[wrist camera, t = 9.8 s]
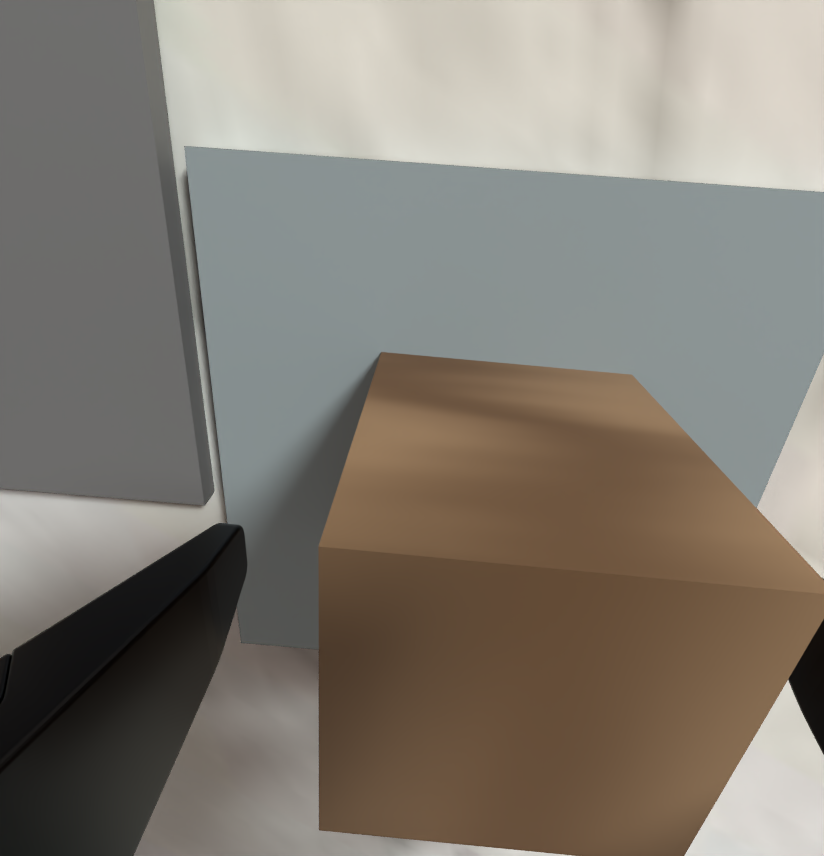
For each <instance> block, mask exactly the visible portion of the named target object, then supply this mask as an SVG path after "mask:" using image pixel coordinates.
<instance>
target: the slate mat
mask: <svg viewBox="0 0 824 856" xmlns="http://www.w3.org/2000/svg"><path fill="white" fill-rule="evenodd" d="M184 148H185V157H186V166H187V174H188V183H189V192H190V201H191V209H192V218H193V227H194V236H195V244H196V253H197V262H198V270H199V279H200V288H201V297H202V305H203V314H204V323H205V332H206V340H207V349H208V358H209V366H210V375H211V384H212V393H213V401H214V410H215V419H216V428H217V436H218V445H219V454H220V462H221V471H222V480H223V489H224V497H225V506H226V515H227V524H238V525H240V526H242V527H243V529H244V533H245V543H246V553H247V573H246V578H245V581H244V584H243V587H242V591H241V594H240V597H239V600H238V603H237V611H238V620H239V628H240V637H241V643H249V644H260V645H272V646H283V647H295V648H307V649H318V650H319V569H318V546H319V543H320V540H321V537H322V534H323V531H324V528H325V525H326V521H327V518H328V515H329V512H330V509H331V506H332V503H333V500H334V497H335V494H336V491H337V487H338V484H339V481H340V478H341V475H342V472H343V469H344V466H345V463H346V460H347V456H348V453H349V450H350V447H351V444H352V441H353V438H354V435H355V432H356V429H357V426H358V422H359V419H360V416H361V413H362V410H363V407H364V404H365V401H366V398H367V395H368V391H369V388H370V385H371V382H372V379H373V376H374V373H375V370H376V367H377V364H378V361H379V357H380V354H381V352H388V353H399V354H410V355H421V356H432V357H443V358H454V359H465V360H476V361H487V362H498V363H509V364H520V365H531V366H542V367H553V368H565V369H576V370H587V371H598V372H609V373H620V374H631V375H633V376H634V377H635V378H636V379H637V381H638V382H639V383H640V384H641V385H642V386H643V387H644V388H645V389H646V390H647V391H648V392H649V393H650V395H651V396H652V397H653V398H654V399H655V400H656V401H657V402H658V403H659V404H660V405H661V406H662V407H663V408H664V410H665V411H666V412H667V413H668V414H669V415H670V416H671V417H672V418H673V419H674V420H675V421H676V422H677V423H678V425H679V426H680V427H681V428H682V429H683V430H684V431H685V432H686V433H687V434H688V435H689V436H690V437H691V438H692V440H693V441H694V442H695V443H696V444H697V445H698V446H699V447H700V448H701V449H702V450H703V451H704V452H705V453H706V455H707V456H708V457H709V458H710V459H711V460H712V461H713V462H714V463H715V464H716V465H717V466H718V467H719V468H720V470H721V471H722V472H723V473H724V474H725V475H726V476H727V477H728V478H729V479H730V480H731V481H732V482H733V484H734V485H735V486H736V487H737V488H738V489H739V490H740V491H741V492H742V493H743V494H744V495H745V496H746V497H747V499H748V500H749V501H750V502H751V503H752V504H753V505H754V506H755V507H756V508H757V506H758V504H759V501H760V499H761V497H762V494H763V492H764V490H765V487H766V485H767V483H768V481H769V478H770V476H771V474H772V471H773V469H774V467H775V464H776V462H777V460H778V458H779V455H780V453H781V451H782V448H783V446H784V444H785V441H786V439H787V437H788V435H789V432H790V430H791V428H792V425H793V423H794V421H795V418H796V416H797V414H798V412H799V409H800V407H801V405H802V402H803V400H804V398H805V396H806V393H807V391H808V389H809V386H810V384H811V382H812V379H813V377H814V375H815V373H816V370H817V368H818V366H819V363H820V361H821V359H822V356H823V354H824V192H814V191H801V190H787V189H773V188H759V187H745V186H731V185H717V184H704V183H690V182H676V181H662V180H648V179H634V178H620V177H606V176H593V175H579V174H565V173H551V172H537V171H523V170H509V169H496V168H482V167H468V166H454V165H440V164H426V163H412V162H399V161H385V160H371V159H357V158H343V157H329V156H315V155H302V154H288V153H274V152H260V151H246V150H232V149H218V148H205V147H191V146H184Z"/></svg>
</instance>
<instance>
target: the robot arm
mask: <svg viewBox="0 0 824 856" xmlns="http://www.w3.org/2000/svg"><path fill="white" fill-rule="evenodd" d="M246 573H247V553H246V543H245V533H244V529H243V527H242V526H240V525H238V524H226V523H218V524H216V525H214V526H212V527H210V528H209V529H207V530H206V531H204V532H202V533H201V534H199V535H198V536H196V537H194V538H193V539H191V540H189V541H188V542H186V543H185V544H183V545H181V546H180V547H178V548H177V549H175V550H173V551H172V552H170V553H169V554H167V555H165V556H164V557H162V558H161V559H159V560H157V561H156V562H154V563H153V564H151V565H149V566H148V567H146V568H144V569H143V570H141V571H140V572H138V573H136V574H135V575H133V576H132V577H130V578H128V579H127V580H125V581H124V582H122V583H120V584H119V585H117V586H116V587H114V588H112V589H111V590H109V591H108V592H106V593H104V594H103V595H101V596H99V597H98V598H96V599H95V600H93V601H91V602H90V603H88V604H87V605H85V606H83V607H82V608H80V609H79V610H77V611H75V612H74V613H72V614H71V615H69V616H67V617H66V618H64V619H63V620H61V621H59V622H58V623H56V624H54V625H53V626H51V627H50V628H48V629H46V630H45V631H43V632H42V633H40V634H38V635H37V636H35V637H34V638H32V639H30V640H29V641H27V642H26V643H24V644H22V645H21V646H19V647H17V648H16V649H14V650H13V652H12V655H10V654H6V655H4V656H3V657H1V658H0V856H134V853H135V851H136V849H137V847H138V844H139V842H140V840H141V838H142V835H143V833H144V831H145V828H146V826H147V824H148V822H149V819H150V817H151V815H152V813H153V810H154V808H155V806H156V804H157V801H158V799H159V797H160V794H161V792H162V790H163V788H164V785H165V783H166V781H167V779H168V776H169V774H170V772H171V770H172V767H173V765H174V763H175V761H176V758H177V756H178V754H179V751H180V749H181V747H182V745H183V742H184V740H185V738H186V736H187V733H188V731H189V729H190V727H191V724H192V722H193V720H194V717H195V715H196V713H197V711H198V708H199V706H200V704H201V702H202V699H203V697H204V695H205V693H206V690H207V688H208V686H209V684H210V681H211V679H212V677H213V674H214V672H215V670H216V667H217V665H218V662H219V660H220V657H221V654H222V651H223V648H224V645H225V641H226V638H227V635H228V632H229V629H230V626H231V622H232V619H233V616H234V613H235V610H236V606H237V603H238V600H239V597H240V594H241V591H242V587H243V584H244V581H245V578H246ZM822 579H823V578H822ZM823 580H824V579H823ZM788 680H789V683H790V685H791V688H792V690H793V693H794V695H795V697H796V700H797V702H798V704H799V707H800V709H801V711H802V713H803V715H804V717H805V719H806V721H807V723H808V725H809V727H810V729H811V731H812V733H813V735H814V737H815V739H816V741H817V743H818V745H819V747H820V749H821V751H822V753H823V754H824V619H823V621H822V623H821V624H820V626H819V628H818V629H817V631H816V633H815V635H814V636H813V638H812V640H811V641H810V643H809V645H808V646H807V648H806V650H805V651H804V653H803V655H802V657H801V658H800V660H799V662H798V663H797V665H796V667H795V668H794V670H793V672H792V674H791V675H790V677H789V679H788Z"/></svg>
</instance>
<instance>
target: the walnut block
mask: <svg viewBox="0 0 824 856" xmlns="http://www.w3.org/2000/svg"><path fill="white" fill-rule="evenodd" d="M318 569H319V830H322V831H332V832H342V833H352V834H362V835H372V836H383V837H393V838H403V839H413V840H423V841H433V842H443V843H453V844H464V845H474V846H484V847H494V848H504V849H514V850H524V851H534V852H545V853H555V854H565V855H575V856H684V855H685V853H686V852H687V850H688V848H689V847H690V845H691V843H692V841H693V840H694V838H695V836H696V835H697V833H698V831H699V830H700V828H701V826H702V825H703V823H704V821H705V819H706V818H707V816H708V814H709V813H710V811H711V809H712V808H713V806H714V804H715V802H716V801H717V799H718V797H719V796H720V794H721V792H722V791H723V789H724V787H725V785H726V784H727V782H728V780H729V779H730V777H731V775H732V774H733V772H734V770H735V769H736V767H737V765H738V763H739V762H740V760H741V758H742V757H743V755H744V753H745V752H746V750H747V748H748V746H749V745H750V743H751V741H752V740H753V738H754V736H755V735H756V733H757V731H758V730H759V728H760V726H761V724H762V723H763V721H764V719H765V718H766V716H767V714H768V713H769V711H770V709H771V707H772V706H773V704H774V702H775V701H776V699H777V697H778V696H779V694H780V692H781V691H782V689H783V687H784V685H785V684H786V682H787V680H788V679H789V677H790V675H791V674H792V672H793V670H794V668H795V667H796V665H797V663H798V662H799V660H800V658H801V657H802V655H803V653H804V651H805V650H806V648H807V646H808V645H809V643H810V641H811V640H812V638H813V636H814V635H815V633H816V631H817V629H818V628H819V626H820V624H821V623H822V621H823V619H824V580H823V579H822V578H821V577H820V576H819V575H818V574H817V573H816V571H815V570H814V569H813V568H812V567H811V566H810V565H809V564H808V563H807V562H806V561H805V560H804V559H803V558H802V556H801V555H800V554H799V553H798V552H797V551H796V550H795V549H794V548H793V547H792V546H791V545H790V544H789V542H788V541H787V540H786V539H785V538H784V537H783V536H782V535H781V534H780V533H779V532H778V531H777V530H776V529H775V527H774V526H773V525H772V524H771V523H770V522H769V521H768V520H767V519H766V518H765V517H764V516H763V515H762V514H761V512H760V511H759V510H758V509H757V508H756V507H755V506H754V505H753V504H752V503H751V502H750V501H749V500H748V499H747V497H746V496H745V495H744V494H743V493H742V492H741V491H740V490H739V489H738V488H737V487H736V486H735V485H734V484H733V482H732V481H731V480H730V479H729V478H728V477H727V476H726V475H725V474H724V473H723V472H722V471H721V470H720V468H719V467H718V466H717V465H716V464H715V463H714V462H713V461H712V460H711V459H710V458H709V457H708V456H707V455H706V453H705V452H704V451H703V450H702V449H701V448H700V447H699V446H698V445H697V444H696V443H695V442H694V441H693V440H692V438H691V437H690V436H689V435H688V434H687V433H686V432H685V431H684V430H683V429H682V428H681V427H680V426H679V425H678V423H677V422H676V421H675V420H674V419H673V418H672V417H671V416H670V415H669V414H668V413H667V412H666V411H665V410H664V408H663V407H662V406H661V405H660V404H659V403H658V402H657V401H656V400H655V399H654V398H653V397H652V396H651V395H650V393H649V392H648V391H647V390H646V389H645V388H644V387H643V386H642V385H641V384H640V383H639V382H638V381H637V379H636V378H635V377H634V376H633V375H631V374H620V373H609V372H598V371H587V370H576V369H565V368H553V367H542V366H531V365H520V364H509V363H498V362H487V361H476V360H465V359H454V358H443V357H432V356H421V355H410V354H399V353H388V352H381V354H380V357H379V361H378V364H377V367H376V370H375V373H374V376H373V379H372V382H371V385H370V388H369V391H368V395H367V398H366V401H365V404H364V407H363V410H362V413H361V416H360V419H359V422H358V426H357V429H356V432H355V435H354V438H353V441H352V444H351V447H350V450H349V453H348V456H347V460H346V463H345V466H344V469H343V472H342V475H341V478H340V481H339V484H338V487H337V491H336V494H335V497H334V500H333V503H332V506H331V509H330V512H329V515H328V518H327V521H326V525H325V528H324V531H323V534H322V537H321V540H320V543H319V546H318Z"/></svg>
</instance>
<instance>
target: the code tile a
mask: <svg viewBox="0 0 824 856" xmlns="http://www.w3.org/2000/svg"><path fill="white" fill-rule="evenodd" d="M0 489H10V490H22V491H35V492H47V493H59V494H71V495H83V496H95V497H107V498H120V499H132V500H144V501H156V502H168V503H180V504H192V505H205V504H206V503H207V501H208V500H209V498H210V497H211V496H212V494H213V493H214V484H213V476H212V468H211V460H210V452H209V444H208V436H207V427H206V419H205V411H204V403H203V395H202V387H201V379H200V371H199V363H198V355H197V347H196V339H195V331H194V323H193V315H192V307H191V299H190V291H189V282H188V274H187V266H186V258H185V250H184V242H183V234H182V226H181V218H180V210H179V202H178V194H177V186H176V178H175V170H174V162H173V154H172V145H171V137H170V129H169V121H168V113H167V105H166V97H165V89H164V81H163V73H162V65H161V57H160V49H159V41H158V33H157V25H156V17H155V9H154V0H0Z"/></svg>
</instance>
